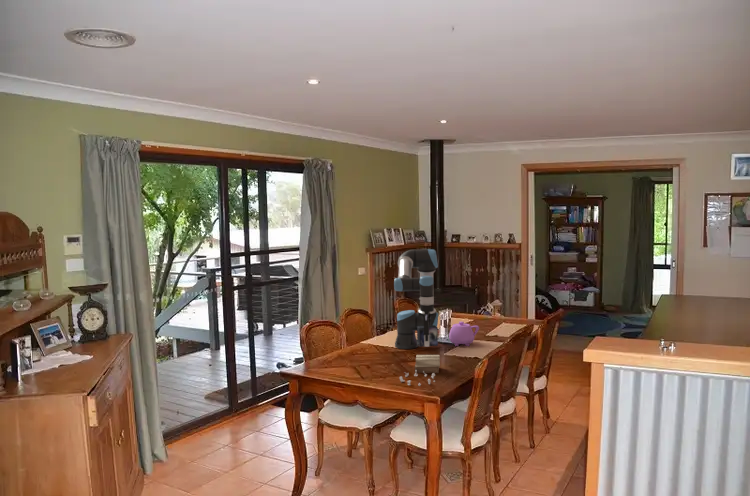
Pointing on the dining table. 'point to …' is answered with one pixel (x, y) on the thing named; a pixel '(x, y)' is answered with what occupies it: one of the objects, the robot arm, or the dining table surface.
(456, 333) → the teapot
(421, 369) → the tower base block
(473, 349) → the dining table surface
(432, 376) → the game piece set
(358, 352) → the dining table surface
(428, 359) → the tower top block
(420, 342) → the small box
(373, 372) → the dining table surface
